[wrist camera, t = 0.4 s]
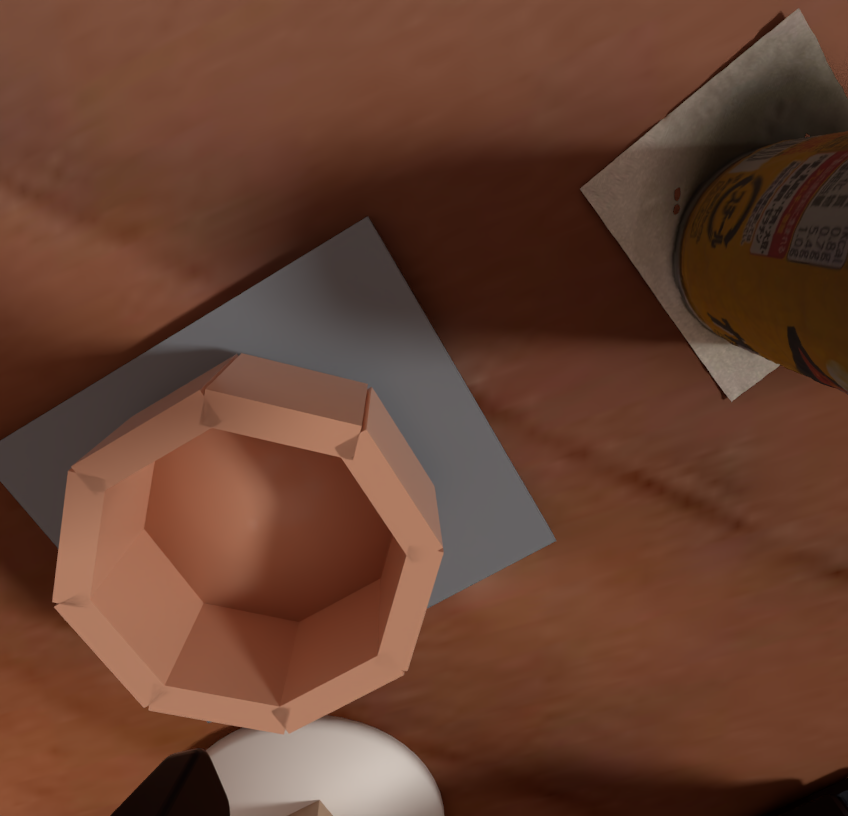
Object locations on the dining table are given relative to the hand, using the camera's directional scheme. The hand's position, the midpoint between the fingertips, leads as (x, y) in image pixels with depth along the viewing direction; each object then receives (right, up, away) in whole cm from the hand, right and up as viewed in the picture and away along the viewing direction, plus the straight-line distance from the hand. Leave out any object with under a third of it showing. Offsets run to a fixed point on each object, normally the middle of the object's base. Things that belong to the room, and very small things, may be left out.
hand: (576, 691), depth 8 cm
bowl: (-6, 0, +13) cm, 15 cm away
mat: (-6, +1, +14) cm, 15 cm away
